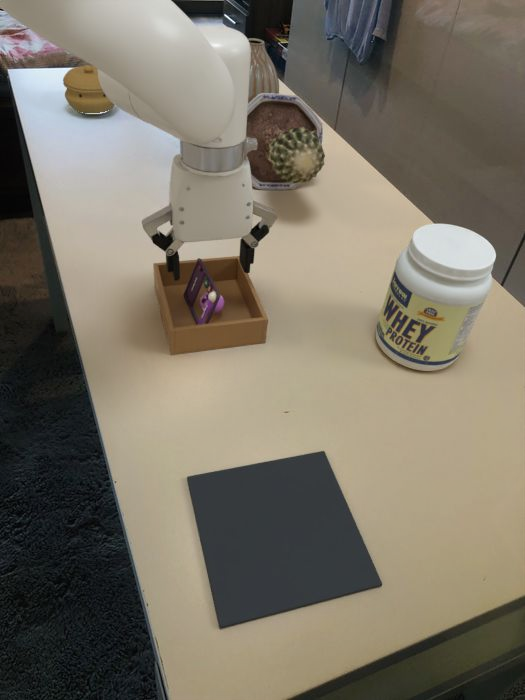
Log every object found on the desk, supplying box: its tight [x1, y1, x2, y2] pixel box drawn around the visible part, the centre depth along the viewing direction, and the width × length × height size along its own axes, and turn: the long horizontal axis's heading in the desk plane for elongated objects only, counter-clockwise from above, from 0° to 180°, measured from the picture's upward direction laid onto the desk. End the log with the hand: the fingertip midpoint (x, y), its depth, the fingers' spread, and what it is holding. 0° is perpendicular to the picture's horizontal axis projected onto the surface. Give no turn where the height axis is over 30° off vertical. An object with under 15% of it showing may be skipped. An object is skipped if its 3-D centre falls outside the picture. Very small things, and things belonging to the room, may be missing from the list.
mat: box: [186, 450, 383, 630], centre depth 57 cm, size 16×16×1 cm
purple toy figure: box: [184, 258, 224, 325], centre depth 79 cm, size 7×5×9 cm
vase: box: [247, 37, 280, 103], centre depth 129 cm, size 13×13×18 cm
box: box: [152, 255, 269, 356], centre depth 79 cm, size 13×15×4 cm
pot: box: [62, 64, 115, 116], centre depth 127 cm, size 12×12×10 cm
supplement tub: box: [375, 223, 497, 372], centre depth 74 cm, size 12×12×17 cm
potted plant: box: [246, 93, 326, 191], centre depth 103 cm, size 18×18×30 cm
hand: (210, 270), depth 76 cm, fingers open, 9 cm apart
